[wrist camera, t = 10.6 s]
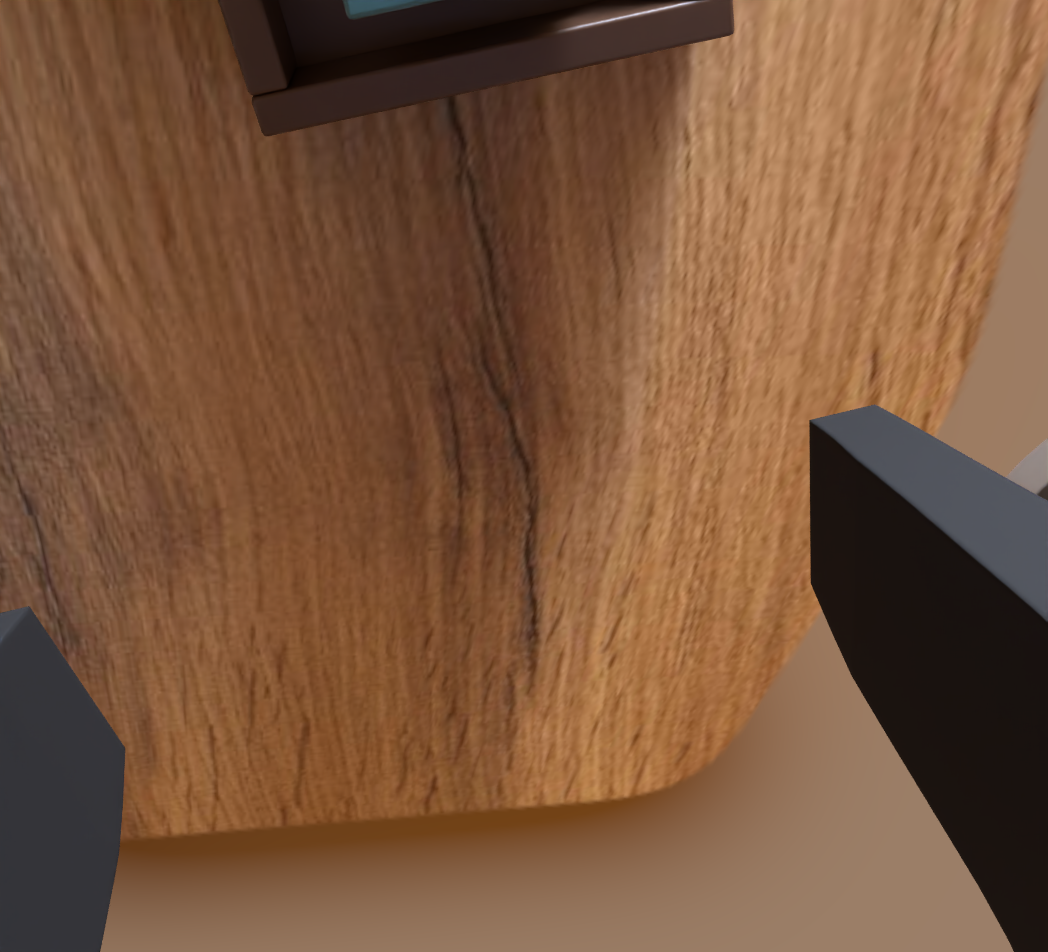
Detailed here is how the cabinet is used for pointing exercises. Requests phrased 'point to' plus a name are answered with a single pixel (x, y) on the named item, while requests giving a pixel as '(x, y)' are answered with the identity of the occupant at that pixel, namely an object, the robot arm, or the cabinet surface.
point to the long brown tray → (438, 48)
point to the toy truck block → (378, 6)
